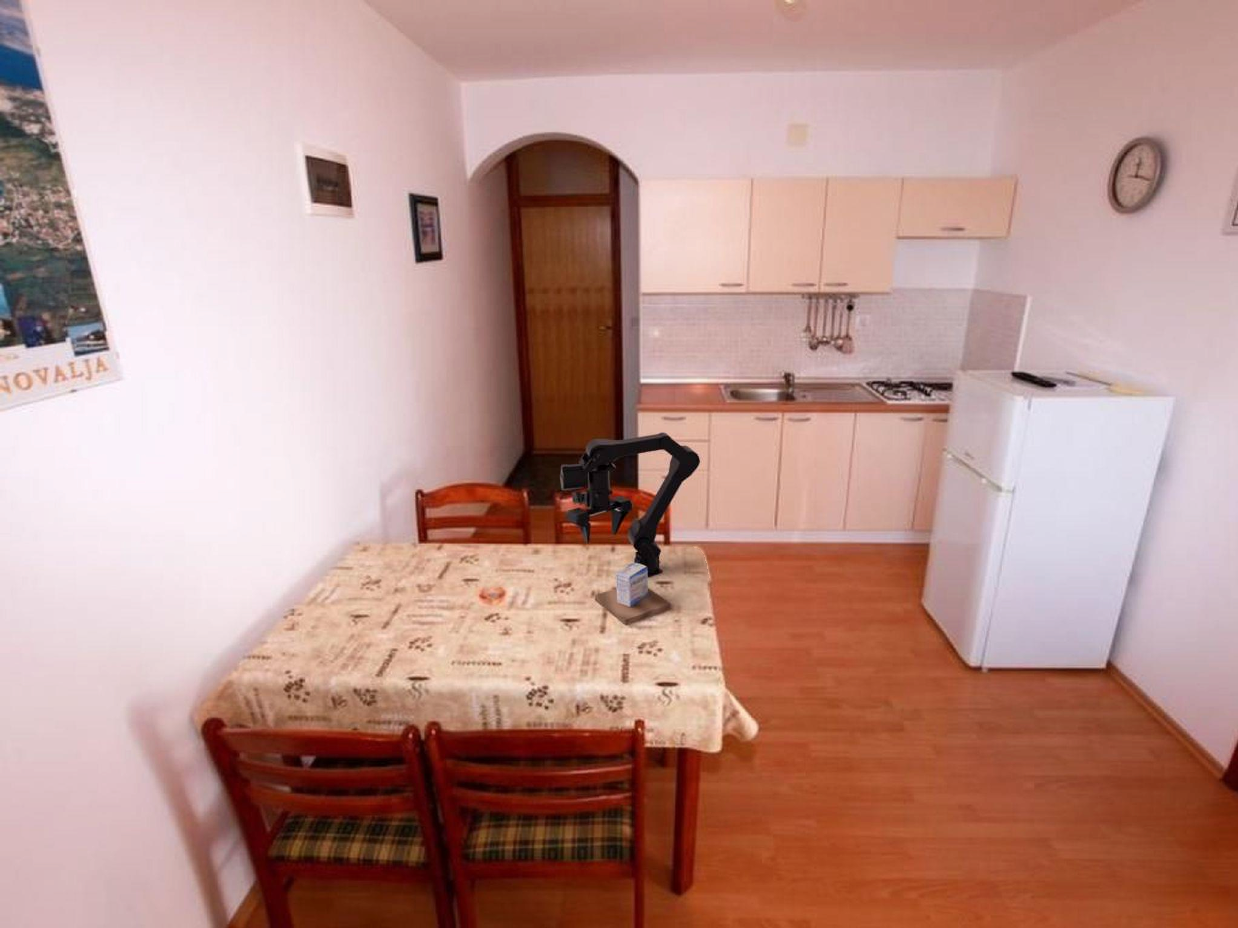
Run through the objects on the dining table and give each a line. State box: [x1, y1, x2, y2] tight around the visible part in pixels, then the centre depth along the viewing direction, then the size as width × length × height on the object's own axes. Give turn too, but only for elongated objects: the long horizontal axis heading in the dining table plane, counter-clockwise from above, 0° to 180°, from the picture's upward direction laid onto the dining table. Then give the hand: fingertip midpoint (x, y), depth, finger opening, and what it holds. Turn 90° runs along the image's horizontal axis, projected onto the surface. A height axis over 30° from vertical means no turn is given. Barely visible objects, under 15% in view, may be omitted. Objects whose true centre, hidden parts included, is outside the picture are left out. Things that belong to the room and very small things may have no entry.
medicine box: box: [615, 562, 649, 607], centre depth 170 cm, size 8×4×9 cm, turn 141°
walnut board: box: [594, 587, 672, 626], centre depth 172 cm, size 14×15×2 cm
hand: (600, 538), depth 183 cm, fingers open, 9 cm apart
